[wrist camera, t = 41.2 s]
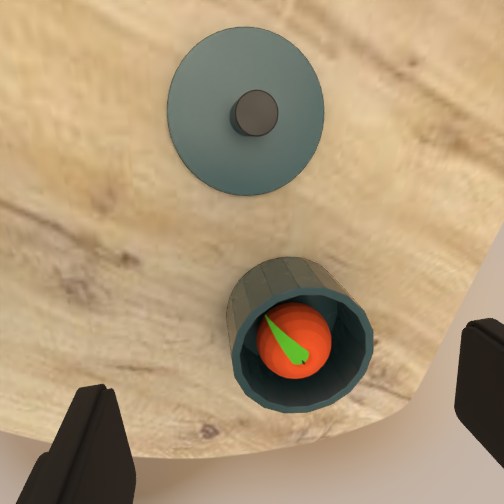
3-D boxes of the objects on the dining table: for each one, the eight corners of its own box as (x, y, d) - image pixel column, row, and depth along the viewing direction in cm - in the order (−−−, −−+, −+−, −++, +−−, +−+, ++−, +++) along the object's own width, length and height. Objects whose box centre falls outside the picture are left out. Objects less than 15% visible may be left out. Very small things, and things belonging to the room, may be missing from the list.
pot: (234, 371, 39) (241, 425, 32) (218, 265, 35) (222, 299, 28) (343, 352, 40) (373, 400, 33) (339, 247, 36) (373, 275, 29)
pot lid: (182, 202, 33) (178, 219, 26) (154, 38, 29) (140, 11, 22) (323, 183, 34) (351, 195, 27) (316, 23, 30) (346, -7, 23)
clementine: (230, 314, 36) (236, 356, 29) (283, 269, 35) (302, 301, 29) (281, 362, 39) (297, 411, 32) (331, 321, 38) (359, 361, 31)
